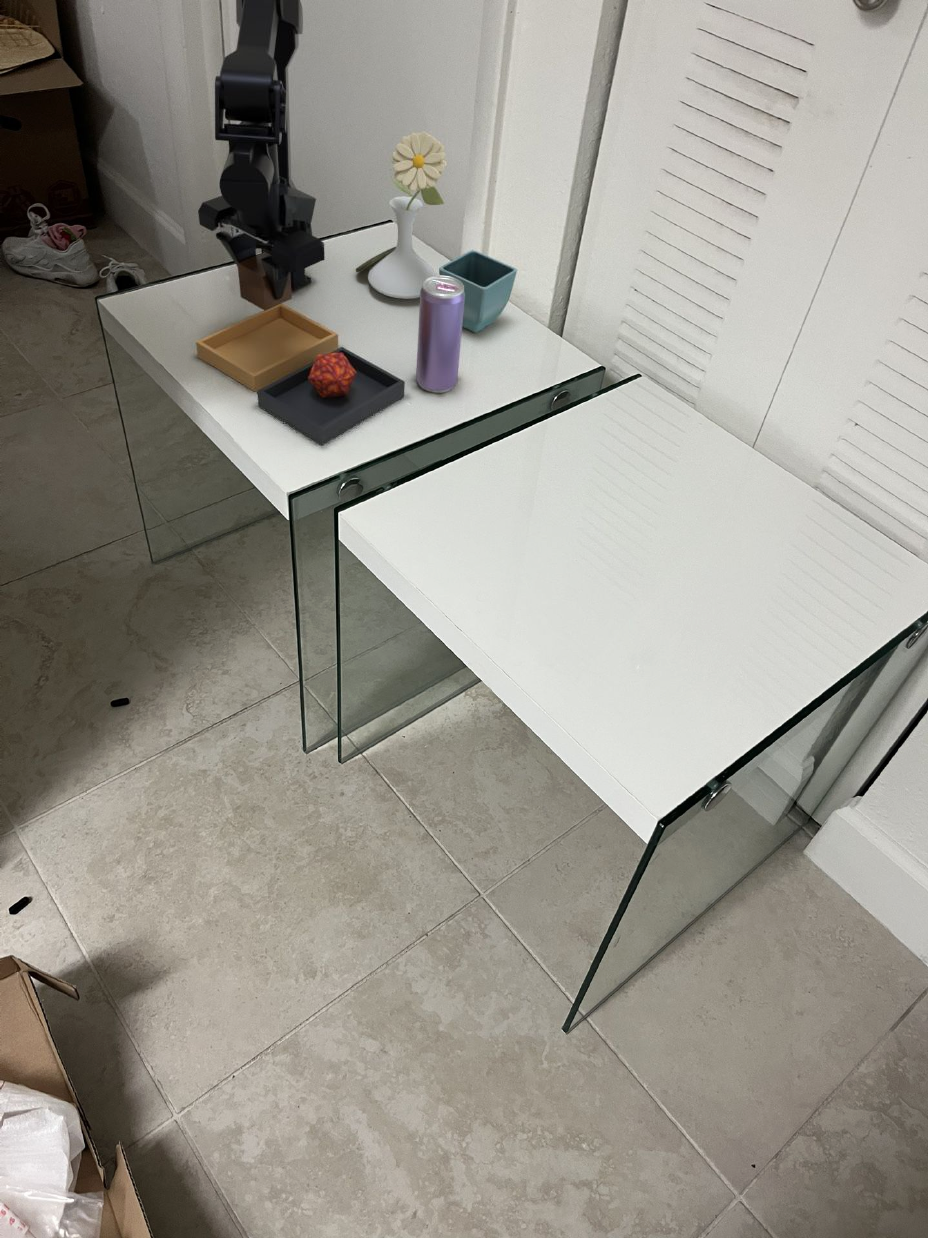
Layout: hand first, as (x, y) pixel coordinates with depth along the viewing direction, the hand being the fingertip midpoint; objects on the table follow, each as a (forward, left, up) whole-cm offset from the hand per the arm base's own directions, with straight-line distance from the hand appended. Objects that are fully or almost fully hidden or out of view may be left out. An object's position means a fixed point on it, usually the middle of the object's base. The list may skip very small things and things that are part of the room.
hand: (265, 291), depth 131 cm
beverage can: (+22, +12, -10) cm, 27 cm away
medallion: (-5, +28, -6) cm, 29 cm away
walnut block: (0, 0, -1) cm, 1 cm away
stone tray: (+15, -2, -9) cm, 18 cm away
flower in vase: (+2, +28, -9) cm, 30 cm away
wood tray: (0, 0, -9) cm, 9 cm away
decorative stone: (+14, -1, -9) cm, 17 cm away
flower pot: (+15, +29, -10) cm, 34 cm away
